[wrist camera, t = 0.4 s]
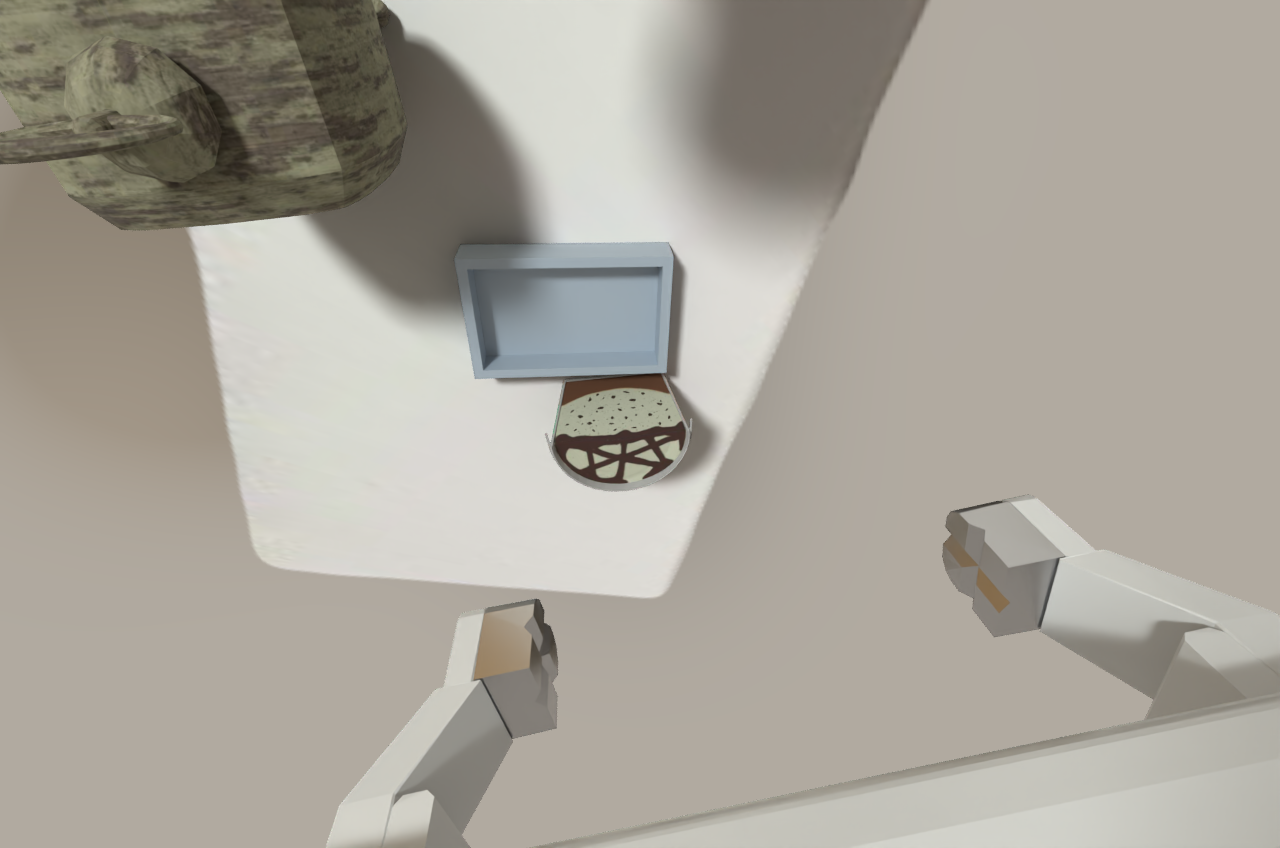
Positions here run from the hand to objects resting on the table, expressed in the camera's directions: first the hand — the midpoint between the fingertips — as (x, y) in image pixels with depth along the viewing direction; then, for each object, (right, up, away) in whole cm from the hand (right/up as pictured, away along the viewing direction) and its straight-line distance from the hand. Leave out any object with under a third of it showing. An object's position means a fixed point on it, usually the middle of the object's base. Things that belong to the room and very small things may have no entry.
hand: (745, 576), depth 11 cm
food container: (-5, +5, +45) cm, 46 cm away
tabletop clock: (-24, +26, +27) cm, 44 cm away
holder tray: (-8, +13, +38) cm, 41 cm away
